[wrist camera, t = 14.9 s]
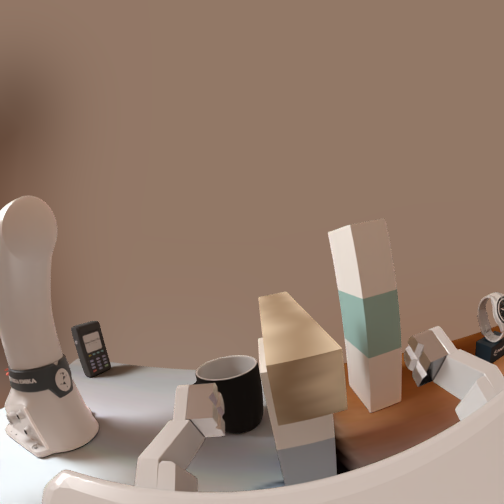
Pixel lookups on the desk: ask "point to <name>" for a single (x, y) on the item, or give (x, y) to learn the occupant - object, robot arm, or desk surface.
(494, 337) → the watch
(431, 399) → the desk surface
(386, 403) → the tower
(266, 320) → the batten
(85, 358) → the card reader
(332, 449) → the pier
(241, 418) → the mug
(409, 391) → the desk surface
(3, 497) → the desk surface
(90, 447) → the desk surface
